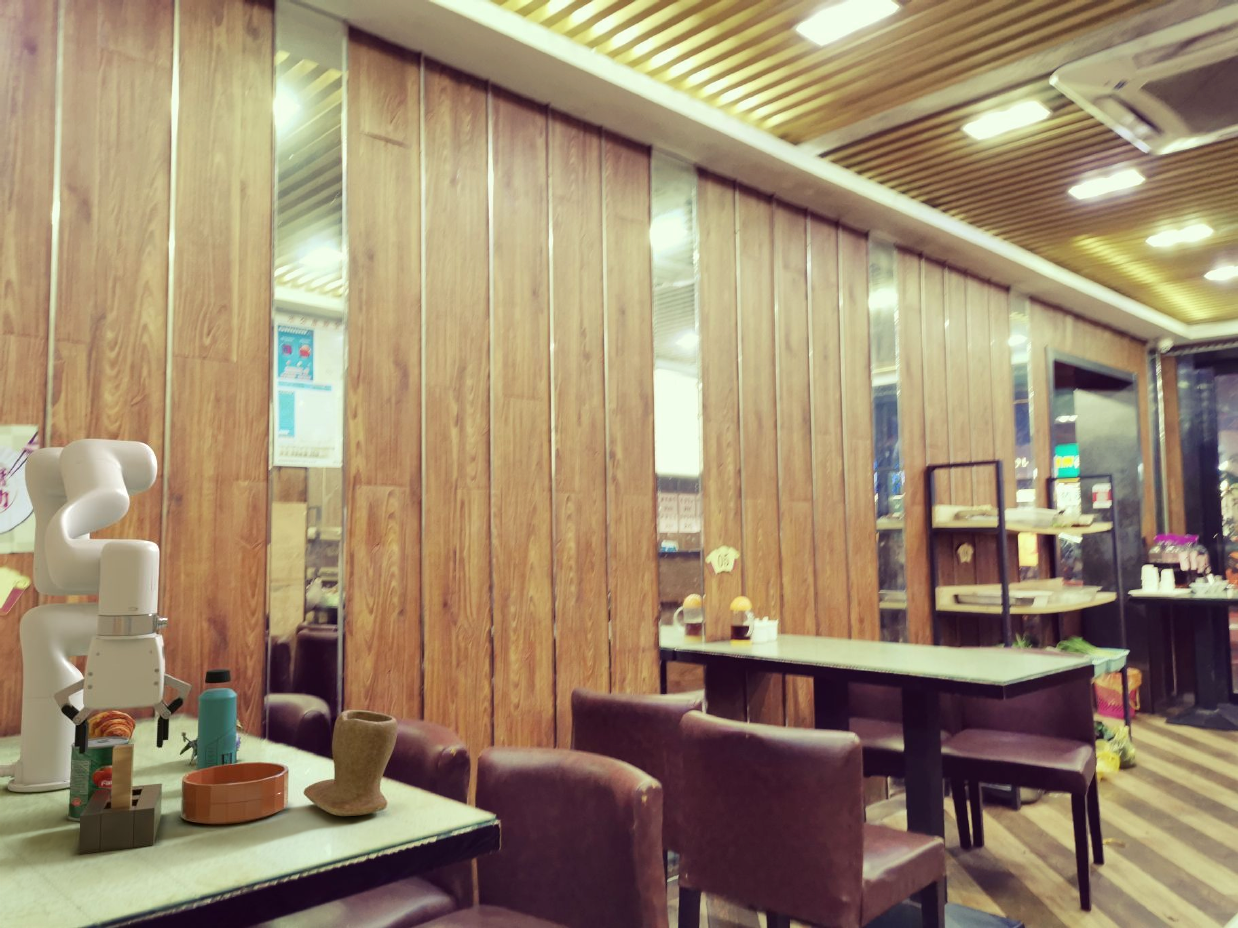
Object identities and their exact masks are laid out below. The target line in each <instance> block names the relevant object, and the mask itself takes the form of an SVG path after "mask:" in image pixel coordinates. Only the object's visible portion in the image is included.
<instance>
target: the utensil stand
mask: <svg viewBox="0 0 1238 928" xmlns="http://www.w3.org/2000/svg"><path fill="white" fill-rule="evenodd" d="M111 791H112V788H110V789H100V790H95V791H94V793H93V795H92V797H91V798H90V800H89V802H88V803H87V805H86V807H85V809H84V810H83V812H82V814H81V815H80V821H79V828H78V829H79V831H78V855H84V854H93V853H99V852H100V853H101V852H108V851H116V850H124V849H133V848H141V847H150V846H154V844H155V841H156V836H157V833H158V829H159V826H160V823H161V822H160V821H161V817H162V798H163V797H162V793H163V792H162V791H163V783H152V784H151V783H150V784H143V785H132V806H130V807H120V808H111Z"/></svg>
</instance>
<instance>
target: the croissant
mask: <svg viewBox="0 0 1238 928" xmlns="http://www.w3.org/2000/svg"><path fill="white" fill-rule="evenodd" d="M87 721H88V722H89V736H88V739H92V738H100V737H126V738H129V740H131V738H132V736H133V734H134V731H135V729H136V726H137V725H136V721H135V720H134V719H133V718H132V717H131V716H130V715H129V714H127V713H123V712H121V711H118V710H109V711H104V712H100V713H98V714H96V715H94V716H93V717H90V718H89V719H87Z"/></svg>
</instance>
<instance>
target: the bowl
mask: <svg viewBox="0 0 1238 928" xmlns="http://www.w3.org/2000/svg"><path fill="white" fill-rule="evenodd" d="M180 797H181V799H180V817H181V818H182V819H184V821H188V822H192V823H197V824H204V825H233V824H238V823H246V822H252V821H257V820H260V819H263V818H266V817H268V816H271V815H273V814H276V813H278V812H280V811H282V810H284V809H285V808H286V807H287V806H288V805H289V766H287V765H285V764H283V763H277V762H269V761H267V762H266V761H254V762H253V761H250V762H237V763H234V764H225V765H219V766H213V767H208V768H204V769H199V770H197V769H195V770H193V771H190V772H188V773H186V774H185V775H183V776H182V777H181V795H180Z"/></svg>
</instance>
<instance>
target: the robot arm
mask: <svg viewBox="0 0 1238 928" xmlns="http://www.w3.org/2000/svg"><path fill="white" fill-rule="evenodd" d="M24 465H25V466H24V482H25V487H26V492H27V494H28V497H29V500H30V503H31V506H32V509H33V513H34V518H35V528H34V529H35V530H34V545H33V564H32V579H33V586H34V588H35V590H36V591H37V592H38V593H39V594H41V595H45V596H52V597H53V596H54V597H57V596H58V597H64V596H65V597H66V596H68V597H69V596H71V597H72V596H98V601H93V602H59V603H58V602H57V603H47V604H40V605H37V606H35V607H32V608H30V609H28V610H27V611H26V612H25V613H24V614H23V615H22V617H21V619H20V623H19V639H20V640H19V641H20V646H21V655H22V674H23V677H22V701H21V703H22V704H21V724H20V725H21V727H20V745H19V759H18V760H17V761H13V762H12V763H11V764H0V778H5V777H7V778H8V777H10V779H11V780H9V781H8V782H7V789H8V790H9V791H11V792H16V793H40V792H51V791H57V790H63V789H67V788H70V772H71V752H72V747H71V745H72V744H73V743H74V742H75V747H79V754H84V753H85V752H86V751H87V749H88V736H89V722H88V717H89V716H90V714H91V713H92V712H93V711H103V710H119V709H135V708H137V709H138V708H148V707H152V708H153V709H154V711H156V712H157V714H159V717H158V718H157V725H156V748H158V749H160V748H163V745H164V741H169V735H170V718H171V717H172V716H173V714H175V713H176V711H178V710H179V709H180V708H181V707H182V706H183V704H184V702H185V701H186V700H187V698H188V696H189V693H190V692H191V691H192V685H191V684H190V683H187V682H186V681H183V680H181V679H179V678H176V677H175V676H171V675H169V674H167V673H166V655H165V654H166V653H165V644H164V638H163V635H162V634H157V632H158V630H159V629H162V628H168V625H169V618H168V617H163V616H160V615H159V614H158V601H159V580H160V579H159V577H160V576H159V575H160V548H159V546H158V545H157V543H155V542H153V541H150V540H149V541H148V540H144V539H134V538H133V539H132V538H130V539H128V538H126V539H124V538H121V539H120V538H119V539H118V538H90V536H91V535H90V534H91V533H94V532H97V531H100V530H102V529H106V528H108V527H110V526H112V525H114V524H116V523H117V522H119V521H121V519H123V518H124V517H125V516H126V514H127V513H128V511H129V508H130V497H133V496H135V495H138V494H141V493H144V492H147V491H148V490H150V489H151V488H152V486H153V485H154V483H155V482H156V479H157V475H158V461H157V457H156V455H155V452H154V451H153V449H152V447H150V446H149V445H147V444H146V443H144V442H142V441H137V440H135V441H134V440H119V439H105V438H81V439H77V440H74V441H72V442H70V443H67V444H66V445H65V446H53V447H52V446H51V447H42V448H38V449H36V450H33V451H32V452H30V454H28V455H27V458H26V460H25V463H24ZM80 656H87V659H86V664H85V670H84V672H85V673H84V675H83V673H82V672H81V671H80V670H79V669H78V668H77V667H76V666H75V665H74V664H73V663H72V661H71V658H73V657H80ZM166 686H167V687H169V688H171V689H173V690H177V691H178V694H177V695H176V697H175V698H174V700H172V701H171V702H170V703H169V704H167V702H166V701H165V700H164V699H163V698H164V697H165V692H166Z"/></svg>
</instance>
